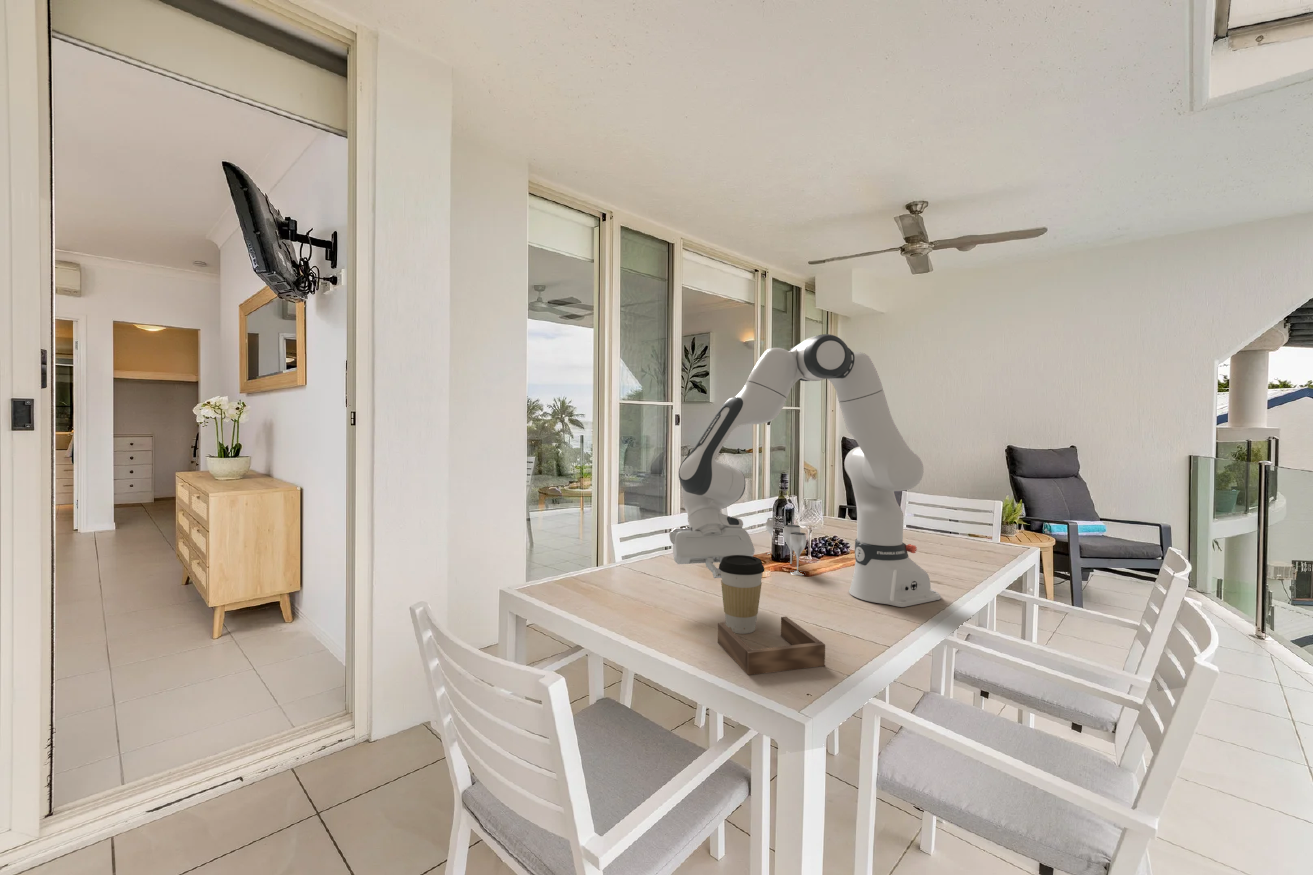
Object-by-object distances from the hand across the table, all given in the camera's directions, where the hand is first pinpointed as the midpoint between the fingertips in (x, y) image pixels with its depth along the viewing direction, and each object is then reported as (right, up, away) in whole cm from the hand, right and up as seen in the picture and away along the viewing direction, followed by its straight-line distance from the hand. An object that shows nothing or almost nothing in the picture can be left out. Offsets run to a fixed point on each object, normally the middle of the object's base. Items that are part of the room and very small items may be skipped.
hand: (720, 576), depth 130 cm
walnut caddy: (+7, -9, -23) cm, 25 cm away
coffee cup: (+3, -9, -10) cm, 14 cm away
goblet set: (+26, -7, +44) cm, 52 cm away
